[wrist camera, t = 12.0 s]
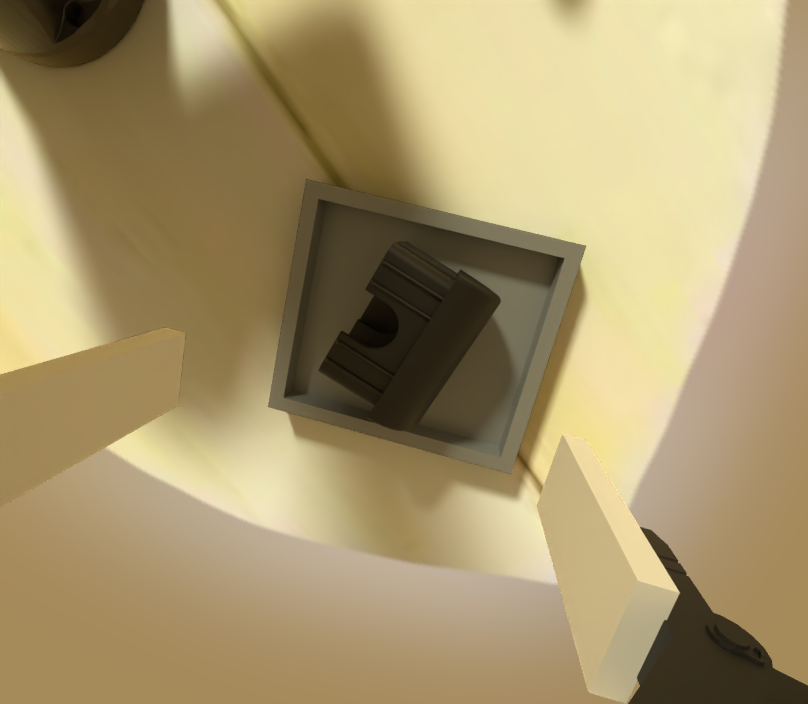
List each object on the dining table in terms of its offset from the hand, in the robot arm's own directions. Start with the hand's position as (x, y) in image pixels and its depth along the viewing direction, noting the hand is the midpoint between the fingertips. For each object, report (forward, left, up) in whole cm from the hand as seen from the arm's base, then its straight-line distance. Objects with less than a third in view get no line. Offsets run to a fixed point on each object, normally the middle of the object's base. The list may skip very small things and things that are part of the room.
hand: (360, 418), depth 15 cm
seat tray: (0, 0, -18) cm, 18 cm away
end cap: (0, 0, -18) cm, 18 cm away
